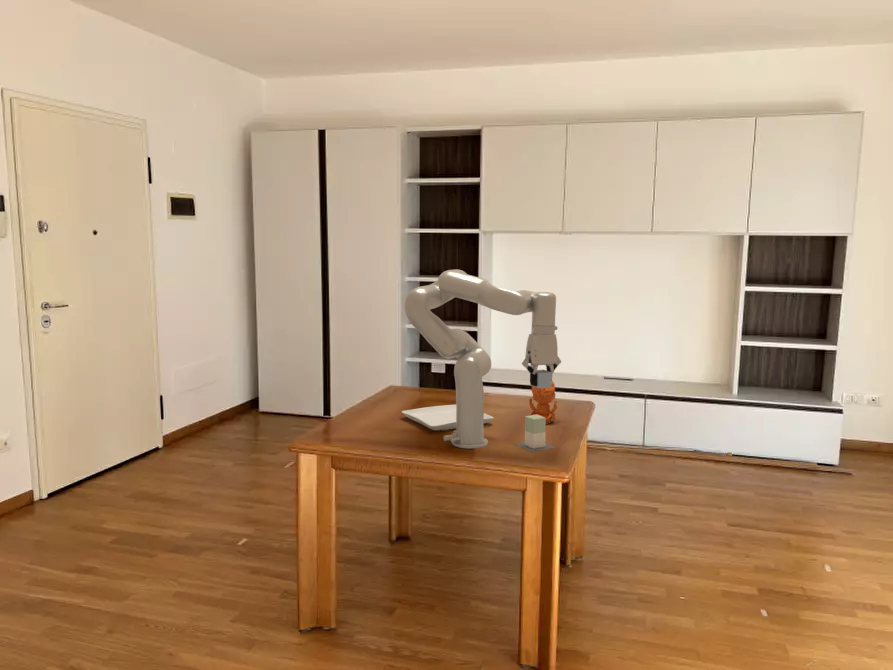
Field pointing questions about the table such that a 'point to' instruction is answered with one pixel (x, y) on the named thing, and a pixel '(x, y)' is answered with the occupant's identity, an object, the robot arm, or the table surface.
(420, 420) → the square plate
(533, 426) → the pale green cube
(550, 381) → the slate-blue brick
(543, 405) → the orange sculpted figure
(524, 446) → the mat
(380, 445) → the table surface
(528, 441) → the beige cube
